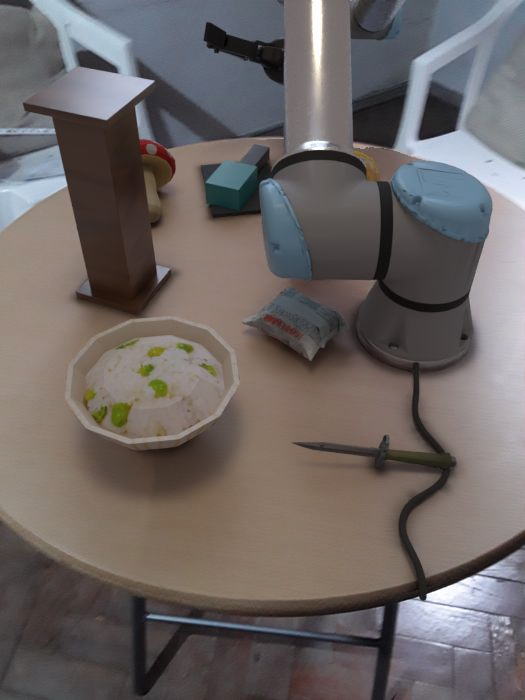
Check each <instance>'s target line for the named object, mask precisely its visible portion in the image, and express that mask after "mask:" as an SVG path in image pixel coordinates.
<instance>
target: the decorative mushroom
mask: <svg viewBox="0 0 525 700" xmlns="http://www.w3.org/2000/svg"><path fill="white" fill-rule="evenodd" d="M139 140H140V147H141V155H142V163H143V170H144V178H145V185H146V193H147V200H148V208H149V216H150V223H151V224H154V223H156V222H157V221H158V220H159V219H160V218H161V215H162V213H163V212H162V203H161V200H160V198H159V194H158V191H157V190H160V189H163V188H164V187H165V186H166V185H167V184H169V183H170V182H171V181H172V179H173V177H174V176H175V174H176V170H177V166H176V159H175V158H174V156H173V155H172V153H171V152H170V151H169V150H168V148H167V147H165V146H163V145H162V144H161V143H159V142H157V141H155V140H151V139H145V138H144V139H143V138H141V139H140V138H139Z"/></svg>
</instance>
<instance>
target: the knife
mask: <svg viewBox="0 0 525 700" xmlns="http://www.w3.org/2000/svg"><path fill="white" fill-rule="evenodd" d="M390 441H391V437H390V434H386V433H385V434H384V435H383V436H382V440H381V441H380V443H379V445H378V447H367V446H359V445H350V444H344V443H343V444H342V443H335V442H328V441H294V442H291V444H293V445H296V446H298V447H301V448H303V449H308V450H312V451H318V452H326V453H333V454H341V455H349V456H357V457H364V458H373V459H374V460H373V461H374V468H375V469H379V468H380V467H381V466H382V464H383V462H384V461H393V462H399V463H405V464H411V465H417V466H424V467H429V468H433V469H434V468H436V469H439V470H440V471H443V469H447V470H450V471H451V469H454V468H456V467H457V458H456V457H455V456H454V455H451V453H450V452H445V453H441V454H438V453H437V452H426V451H412V450H401V449H390V444H391V442H390Z"/></svg>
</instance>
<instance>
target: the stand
mask: <svg viewBox="0 0 525 700" xmlns="http://www.w3.org/2000/svg"><path fill="white" fill-rule="evenodd" d="M156 82H157V81H156V80H152V79H147V78H143V77H138V76H137V77H136V76H131V75H126V74H122V73H115V72H111V71H105V70H100V69H94V68H89V67H83V66H80V65H79V66H78V65H76V66H75V67H73V68H72V69H70V70H69V71H67V72H66V73H64V74H63V75H62V76H60V77H58V78H57V79H56V80H54V81H53V82H51V83H50V84H48V85H47V86H45V87H43V88H42V89H41V90H39V91H38V92H36V93H35V94H33V95H32V96H31V97H29V98H27V99H26V100H24V101H23V102H22V106H23V110H24V112H28V113H32V114H37V115H42V116H46V117H51V119H52V123H53V128H54V132H55V137H56V142H57V146H58V150H59V155H60V159H61V164H62V169H63V172H64V177H65V181H66V186H67V190H68V195H69V199H70V203H71V209H72V212H73V217H74V222H75V225H76V226H75V227H76V230H77V235H78V239H79V245H80V247H81V248H80V249H81V253H82V257H83V261H84V266H85V270H86V275H87V279H86V281H84V283H83V284H82V285H81V286H79V288H78V289H77V290H76V291H75V295H76V298H77V299H80V300H81V299H82V300H85V301H88V302H92V303H94V304H98V305H102V306H106V307H109V308H112V309H114V310H119V311H122V312H125V313H129V314H133V315H136V316H139V315H140V313H141V312H142V311H143V309H144V308H145V307H147V305H148V304H149V302H150V301H151V300H152V299H153V297H154V296H156V293H158V292H159V290H160V289H161V287H162V286H163V285H164V284H165V283H166V281H167V280H168V279H169V278H170V276H172V269H171V268H170V267H166V266H162V265H158V264H157V262H156V254H155V248H154V247H155V246H154V240H153V238H154V237H153V231H152V225H151V224H152V223H150V216H149V208H148V200H147V193H146V185H145V178H144V170H143V163H142V155H141V147H140V140H139V139H140V133H139V126H138V117H137V111H136V106H137V105H139V104H140V103H141V102H143V101H144V100H145V99H146V98H147V97H148V96H150V95H151V94H152V93H153V92H155V90H157V84H156Z"/></svg>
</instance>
